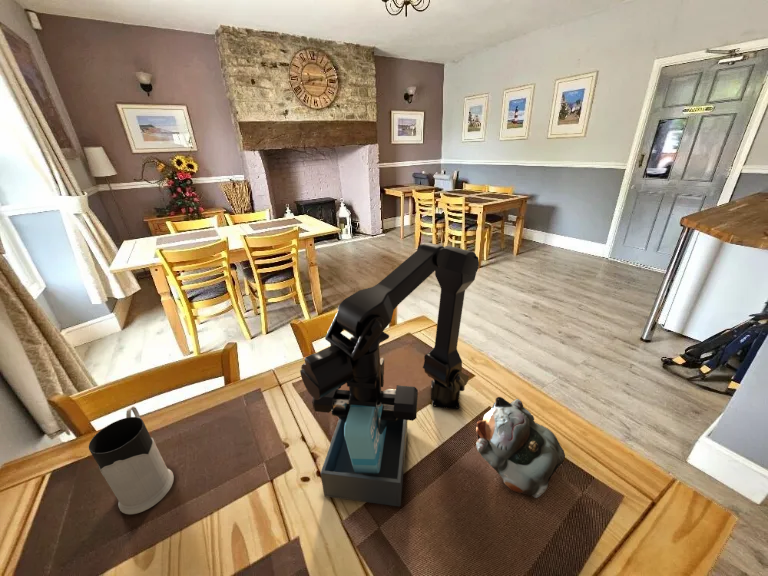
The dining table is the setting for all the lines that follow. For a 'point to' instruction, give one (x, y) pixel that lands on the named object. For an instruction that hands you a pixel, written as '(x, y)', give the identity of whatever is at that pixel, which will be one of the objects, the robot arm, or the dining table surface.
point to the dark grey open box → (366, 486)
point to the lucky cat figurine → (518, 447)
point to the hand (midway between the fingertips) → (368, 431)
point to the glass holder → (131, 463)
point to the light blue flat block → (364, 438)
